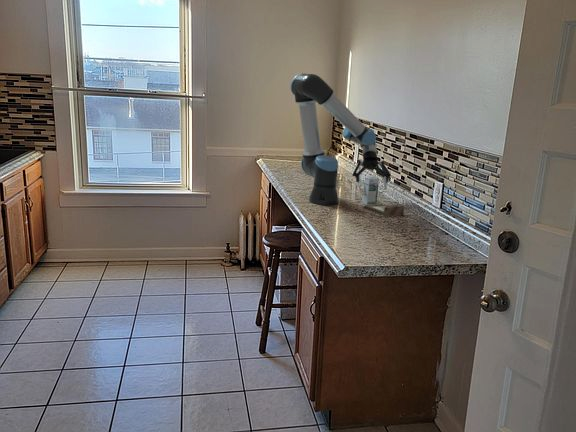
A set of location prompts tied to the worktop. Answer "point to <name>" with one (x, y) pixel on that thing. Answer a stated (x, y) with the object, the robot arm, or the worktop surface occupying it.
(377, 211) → the walnut stand board
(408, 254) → the worktop surface
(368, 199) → the syrup box
